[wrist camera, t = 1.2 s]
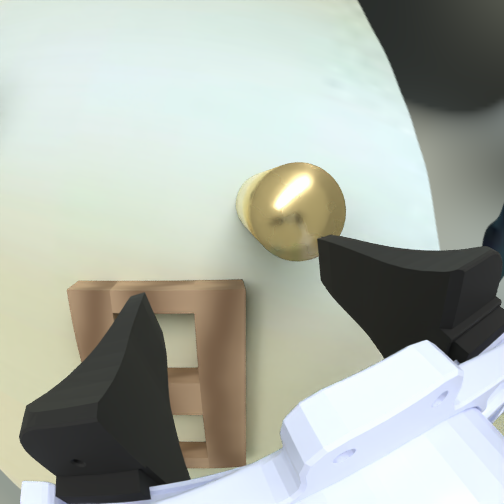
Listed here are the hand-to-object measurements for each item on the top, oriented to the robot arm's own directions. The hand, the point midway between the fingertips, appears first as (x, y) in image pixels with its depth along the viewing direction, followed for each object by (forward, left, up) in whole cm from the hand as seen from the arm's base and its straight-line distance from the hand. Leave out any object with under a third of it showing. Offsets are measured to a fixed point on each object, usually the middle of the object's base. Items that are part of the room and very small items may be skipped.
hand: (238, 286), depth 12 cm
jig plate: (+6, +13, -12) cm, 19 cm away
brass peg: (-3, -3, -12) cm, 13 cm away
